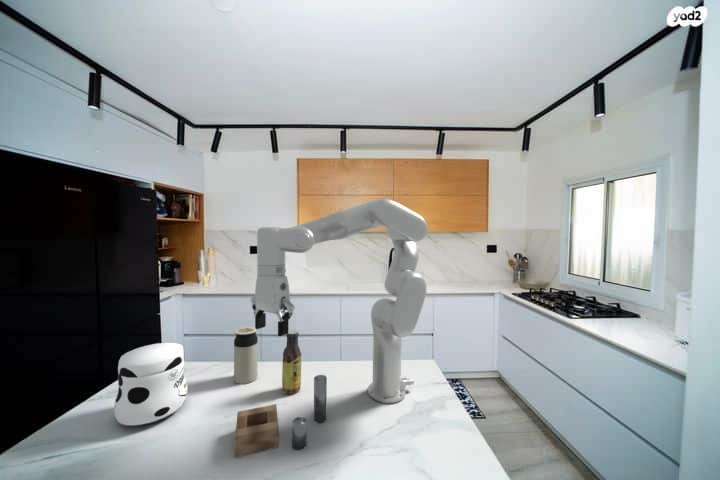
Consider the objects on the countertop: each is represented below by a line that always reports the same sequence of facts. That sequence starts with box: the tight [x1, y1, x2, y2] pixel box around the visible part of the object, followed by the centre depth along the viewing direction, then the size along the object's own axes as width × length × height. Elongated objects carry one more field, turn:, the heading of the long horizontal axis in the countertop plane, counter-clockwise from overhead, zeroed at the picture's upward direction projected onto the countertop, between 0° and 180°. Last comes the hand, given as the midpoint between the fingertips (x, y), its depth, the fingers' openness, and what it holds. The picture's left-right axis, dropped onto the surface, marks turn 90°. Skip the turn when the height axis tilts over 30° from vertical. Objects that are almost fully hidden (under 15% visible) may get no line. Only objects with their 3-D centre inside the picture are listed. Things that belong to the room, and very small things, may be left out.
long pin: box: [313, 374, 328, 424], centre depth 81 cm, size 4×4×12 cm
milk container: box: [113, 342, 188, 427], centre depth 83 cm, size 17×17×18 cm
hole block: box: [234, 404, 280, 458], centre depth 73 cm, size 10×10×5 cm
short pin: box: [291, 416, 308, 451], centre depth 71 cm, size 4×4×6 cm
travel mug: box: [233, 326, 259, 385], centre depth 103 cm, size 8×8×18 cm
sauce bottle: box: [281, 329, 302, 395], centre depth 95 cm, size 6×6×20 cm
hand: (271, 331), depth 79 cm, fingers open, 9 cm apart
